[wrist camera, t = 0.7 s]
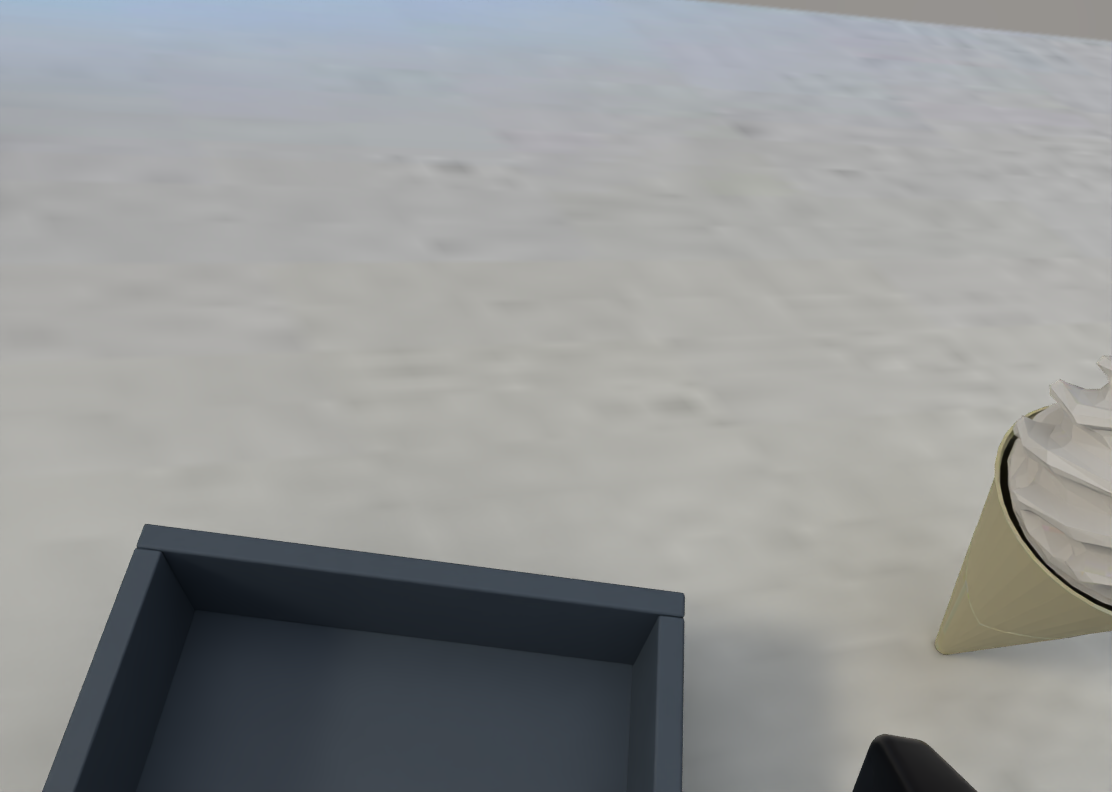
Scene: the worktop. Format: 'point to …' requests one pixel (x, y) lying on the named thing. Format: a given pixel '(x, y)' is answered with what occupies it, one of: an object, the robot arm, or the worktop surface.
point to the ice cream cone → (1042, 531)
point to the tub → (372, 677)
